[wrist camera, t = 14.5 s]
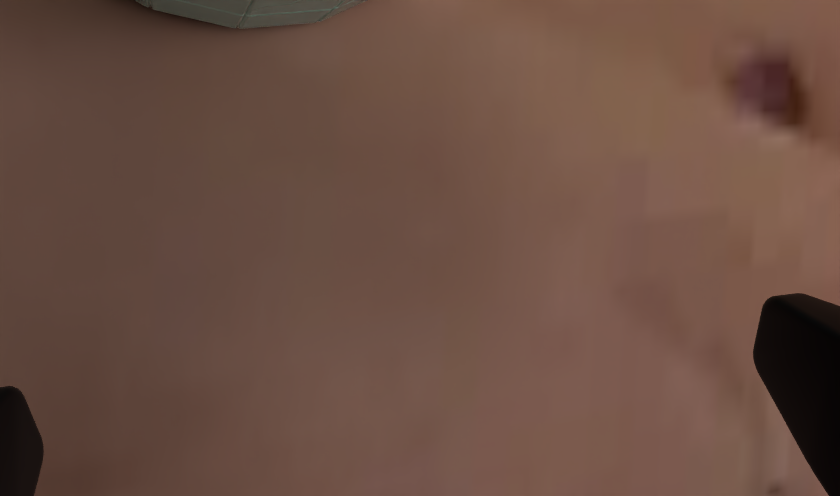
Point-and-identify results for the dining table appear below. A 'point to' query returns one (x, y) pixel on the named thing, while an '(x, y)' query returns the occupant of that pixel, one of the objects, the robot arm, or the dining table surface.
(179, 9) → the bowl
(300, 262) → the dining table surface
